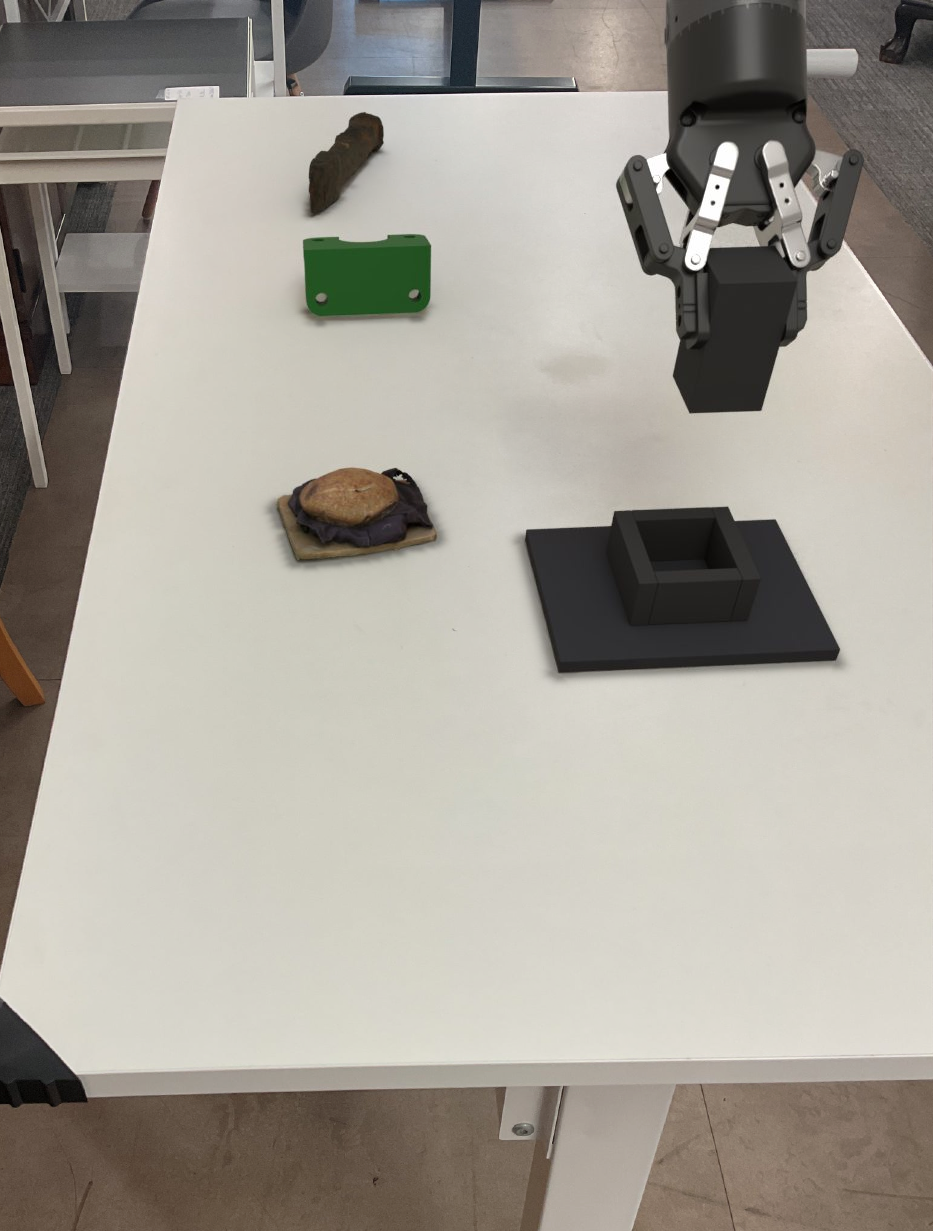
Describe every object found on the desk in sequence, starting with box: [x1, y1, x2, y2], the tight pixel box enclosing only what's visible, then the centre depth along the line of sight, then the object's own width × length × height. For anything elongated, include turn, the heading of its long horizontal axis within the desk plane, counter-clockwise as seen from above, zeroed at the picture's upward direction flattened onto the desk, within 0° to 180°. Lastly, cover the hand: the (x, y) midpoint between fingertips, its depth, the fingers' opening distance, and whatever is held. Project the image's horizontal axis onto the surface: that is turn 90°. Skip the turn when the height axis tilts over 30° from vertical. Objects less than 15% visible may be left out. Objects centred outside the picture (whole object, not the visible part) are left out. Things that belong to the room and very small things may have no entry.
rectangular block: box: [672, 245, 798, 414], centre depth 70 cm, size 4×4×8 cm
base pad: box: [524, 506, 841, 674], centre depth 79 cm, size 18×14×4 cm
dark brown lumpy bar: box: [308, 111, 385, 214], centre depth 126 cm, size 19×4×5 cm, turn 159°
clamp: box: [302, 233, 432, 317], centre depth 107 cm, size 12×6×9 cm, turn 87°
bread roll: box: [276, 467, 438, 561], centre depth 85 cm, size 11×8×4 cm
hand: (741, 342), depth 68 cm, fingers closed on rectangular block, 4 cm apart
